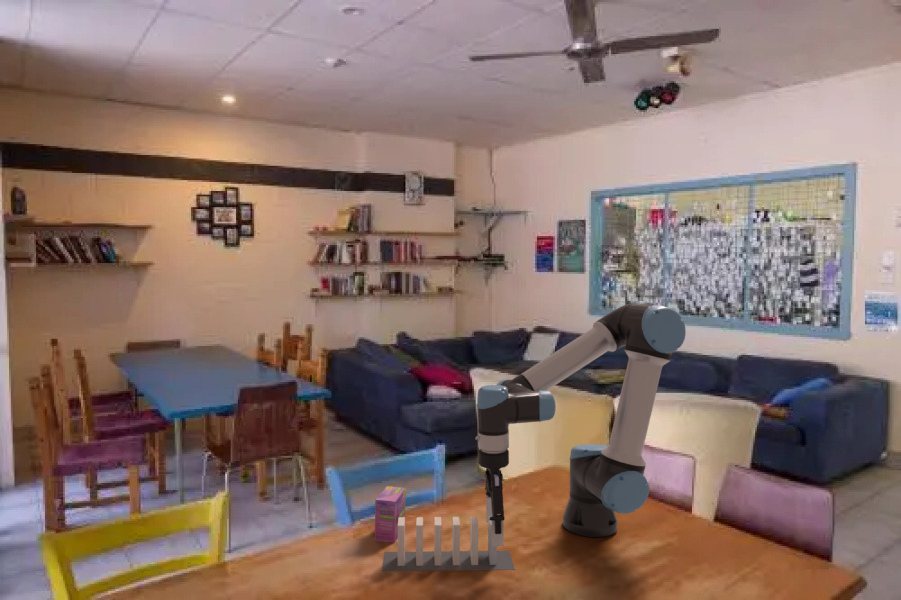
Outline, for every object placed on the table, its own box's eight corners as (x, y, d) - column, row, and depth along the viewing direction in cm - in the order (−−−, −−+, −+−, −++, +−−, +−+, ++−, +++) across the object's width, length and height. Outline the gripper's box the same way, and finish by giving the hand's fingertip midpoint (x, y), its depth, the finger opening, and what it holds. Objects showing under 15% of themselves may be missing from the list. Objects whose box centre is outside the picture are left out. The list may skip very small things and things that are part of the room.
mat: (509, 552, 163) (509, 550, 162) (514, 571, 153) (514, 569, 153) (384, 554, 161) (384, 551, 161) (381, 573, 151) (381, 570, 151)
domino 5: (476, 555, 160) (476, 516, 159) (478, 564, 155) (478, 524, 154) (470, 555, 160) (470, 516, 159) (471, 565, 155) (471, 524, 154)
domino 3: (440, 555, 159) (441, 516, 159) (441, 565, 154) (441, 525, 154) (434, 555, 159) (434, 517, 159) (434, 565, 154) (434, 525, 154)
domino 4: (458, 555, 159) (458, 516, 159) (459, 565, 154) (460, 525, 154) (452, 555, 159) (452, 516, 159) (453, 565, 154) (453, 525, 154)
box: (395, 545, 167) (395, 501, 166) (374, 543, 168) (374, 499, 167) (405, 528, 177) (406, 487, 176) (386, 527, 178) (386, 485, 177)
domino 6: (494, 555, 160) (494, 516, 159) (496, 564, 155) (497, 524, 154) (488, 555, 160) (488, 516, 159) (490, 564, 155) (490, 524, 154)
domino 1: (404, 556, 159) (405, 517, 158) (404, 565, 154) (404, 525, 153) (398, 556, 159) (398, 517, 158) (397, 565, 154) (397, 525, 153)
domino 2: (422, 556, 159) (423, 517, 159) (422, 565, 154) (422, 525, 154) (416, 556, 159) (416, 517, 158) (416, 565, 154) (416, 525, 153)
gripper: (474, 435, 168) (475, 513, 169) (482, 466, 143) (484, 557, 144) (502, 434, 168) (503, 512, 170) (515, 465, 143) (516, 556, 145)
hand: (494, 533), depth 157 cm, fingers open, 13 cm apart
